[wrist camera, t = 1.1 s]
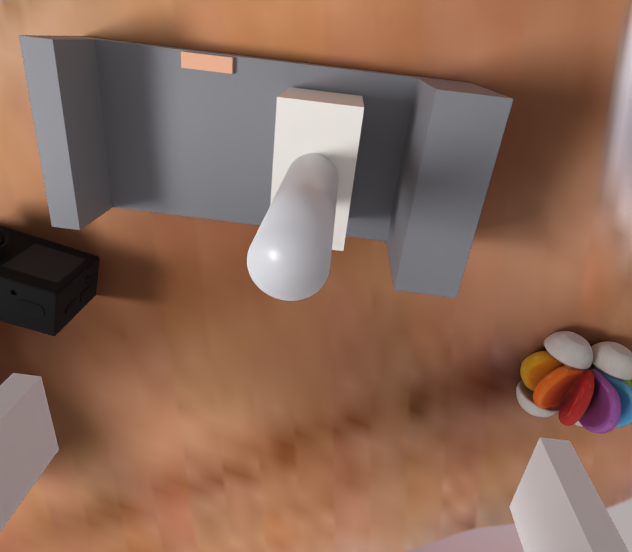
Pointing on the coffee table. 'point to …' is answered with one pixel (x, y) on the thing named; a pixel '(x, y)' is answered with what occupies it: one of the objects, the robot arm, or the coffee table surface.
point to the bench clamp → (259, 144)
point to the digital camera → (43, 281)
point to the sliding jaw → (307, 192)
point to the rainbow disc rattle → (578, 382)
